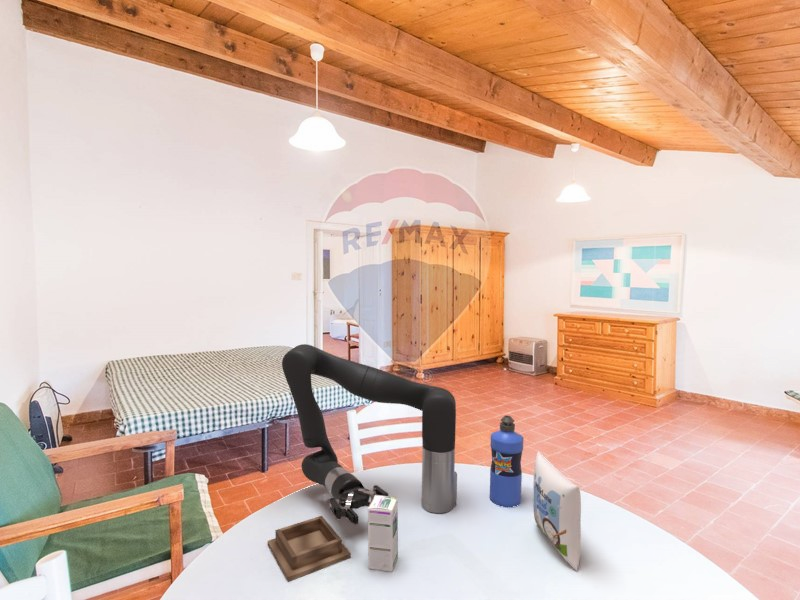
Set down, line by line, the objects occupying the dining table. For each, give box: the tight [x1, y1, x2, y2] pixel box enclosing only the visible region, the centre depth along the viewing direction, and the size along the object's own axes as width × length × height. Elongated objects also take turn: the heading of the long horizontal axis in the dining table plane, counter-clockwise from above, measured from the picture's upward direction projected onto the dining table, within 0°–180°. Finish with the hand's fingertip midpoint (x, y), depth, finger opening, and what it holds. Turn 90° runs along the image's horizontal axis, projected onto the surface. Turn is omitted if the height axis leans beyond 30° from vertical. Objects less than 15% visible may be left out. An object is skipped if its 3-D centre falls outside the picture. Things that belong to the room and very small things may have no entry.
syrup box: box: [367, 495, 399, 573], centre depth 101 cm, size 6×6×14 cm
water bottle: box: [489, 415, 524, 508], centre depth 129 cm, size 9×9×25 cm
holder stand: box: [267, 515, 352, 583], centre depth 105 cm, size 15×15×4 cm
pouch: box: [532, 451, 582, 572], centre depth 108 cm, size 8×19×20 cm, turn 5°
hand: (373, 515), depth 104 cm, fingers open, 8 cm apart
